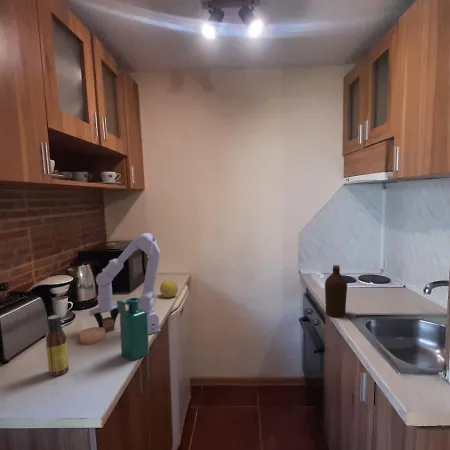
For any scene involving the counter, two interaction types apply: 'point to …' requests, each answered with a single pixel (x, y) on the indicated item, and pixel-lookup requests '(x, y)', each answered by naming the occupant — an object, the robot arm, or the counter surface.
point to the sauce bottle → (56, 347)
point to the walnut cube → (108, 324)
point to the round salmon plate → (92, 335)
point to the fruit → (168, 289)
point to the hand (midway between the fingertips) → (106, 327)
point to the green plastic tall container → (133, 329)
